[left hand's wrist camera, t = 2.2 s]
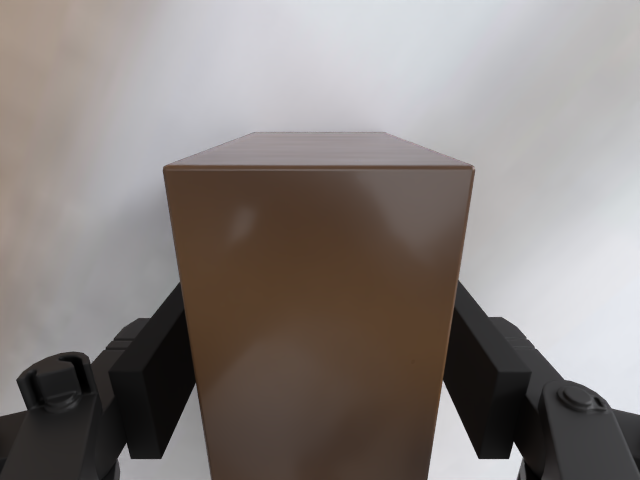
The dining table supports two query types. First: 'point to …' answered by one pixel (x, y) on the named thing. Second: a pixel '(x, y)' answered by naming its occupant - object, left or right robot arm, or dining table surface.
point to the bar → (319, 300)
